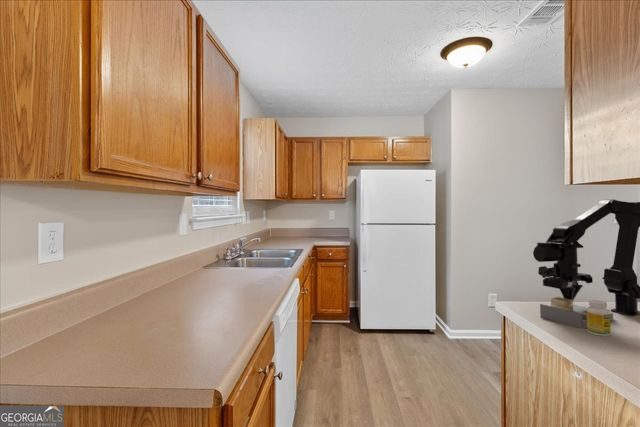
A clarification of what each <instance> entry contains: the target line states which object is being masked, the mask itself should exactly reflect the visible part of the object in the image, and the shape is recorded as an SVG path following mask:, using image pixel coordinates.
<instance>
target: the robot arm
mask: <svg viewBox="0 0 640 427" xmlns="http://www.w3.org/2000/svg"><path fill="white" fill-rule="evenodd" d="M610 214H612V215H613V214H614V219H615V221H616V222H617V224H618V231H617V238H616V245H615V246H616V247H615V251H614V252H615V253H614V259H613V264H612V266H611V267H610V268H604V270H603V271H604V272H603V277H602V280H603V284H604V285H605V286H606V289H607V291H608V293H610V294H614V301H615V302H614V304H615V305H614V306H615V308H612V309H610V311H611V312H612V313H613V312H614V313H619V314H621V315H622V314H623V315H626V316H627V315H628V316H633V317H634V316H638V315H640V310H639V308H638V300H640V285H639V284H638V276H637V274H636V272H635V271H634V269H633V266H634V259H635V253H636V248H637V247H636V246H637V242H638V240H637V239H638V233H639V228H640V201H632V202H631V201H623V200H618V199H602V200H600V201H598V203H597V204H595V205H594V206H592V207H590V208H589V209H588V210H586V211H585V212H584V213H582V214H580V215H578V216H577V217H576V218H574V219H572V220H569V221H566V222H563V223H560V224H558V225H556V226H554V227H553V228H552V233H551V234H550V235H549V237H548V238H547V239H546V241H545V242H541V241H540V242H536V246H535V247H534V249H533V251H532V252H533V253H532V254H533V257H534V260H535V261H537V262H539V263H543V262H544V263H546V262H549V263H550V262H555V263H553V266H551V267H547V266H546V265H543V266H539V267H538V271H537V272H538V275H539V276H541V277H542V286H544V287H548V288H554V289H559V291H560V293H561V294H562V296H563V297H562V298H566V299H571V300H573V301H574V300H575V298H576V296H577V295H578V293H579V292H580V290H581V289H582V288H583V287H584V285H582V284H579V282H580V281H581V282H585V283H586V284H592V283H593V277H592V275H591V274H588V273H581V272H579V271H578V270H579V269H578V268H581V263H578V249H583V248H584V245H583V244H581V243H579V240H580V239H581V238H582V237H584V235H585V234H586V231H587V230H588V228H590V227H591V226H592V227H593V225H595V224H596V223H598V222H599V221H601V220H602V219H604V218H605V217H606V216H608V215H610Z"/></svg>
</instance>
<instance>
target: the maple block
mask: <svg viewBox="0 0 640 427" xmlns="http://www.w3.org/2000/svg"><path fill="white" fill-rule="evenodd" d="M573 304H574V300H571V299H566V298H564V297H561V296H557V297H552V298H550V306H553V307H557V308H561V309H565V310H569V311H573Z"/></svg>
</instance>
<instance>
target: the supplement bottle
mask: <svg viewBox="0 0 640 427" xmlns="http://www.w3.org/2000/svg"><path fill="white" fill-rule="evenodd" d="M588 305H589V306H588V307H587V327H586V330H587V332H588V333H589V334H592V335H594V336H598V337H609V336H611V333H612V332H611V330H612V329H611V327H612V326H611V325H612V324H611V320H610V313H611V312H610V311H611V310H609V309H607V307H608V303H607V302H606V301H603V300H599V299H590V300H589V301H588Z"/></svg>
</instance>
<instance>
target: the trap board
mask: <svg viewBox="0 0 640 427" xmlns="http://www.w3.org/2000/svg"><path fill="white" fill-rule="evenodd" d="M587 308H588V307H587V306H582V305H577V304H574V303H573V311H569V310H565V309H561V308H557V307H553V306H551V305H548V304H544V303H540V304H539V312H540V313H539V314H540V316H539V317H540V318H542V319H543V318H544V319H547V320H550V321H553V322H554V321H555V322H557V323H562V324H564V325H569V326H572V327H575V328H579V329H585V328H587ZM613 319H614V313H613V312H610V321H611V320H613Z"/></svg>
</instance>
